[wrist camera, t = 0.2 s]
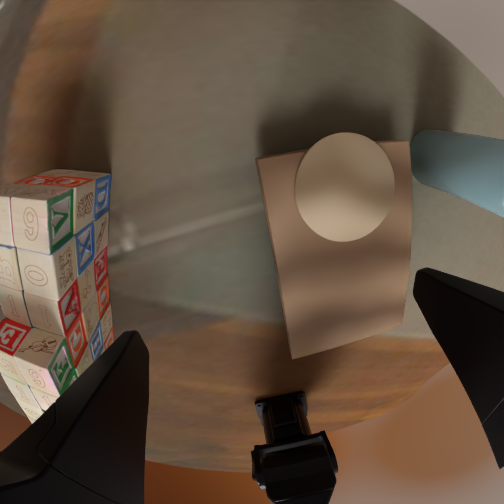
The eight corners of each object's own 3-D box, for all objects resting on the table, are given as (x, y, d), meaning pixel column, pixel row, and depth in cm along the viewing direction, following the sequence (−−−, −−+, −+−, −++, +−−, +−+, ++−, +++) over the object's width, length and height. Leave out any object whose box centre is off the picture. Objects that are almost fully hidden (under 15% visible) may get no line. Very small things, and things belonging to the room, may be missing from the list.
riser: (388, 309, 27) (403, 326, 24) (286, 339, 27) (293, 361, 24) (387, 127, 20) (409, 128, 17) (250, 144, 19) (255, 145, 16)
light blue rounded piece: (448, 182, 22) (542, 222, 11) (410, 188, 22) (514, 236, 11) (445, 129, 20) (547, 148, 8) (406, 129, 20) (520, 146, 8)
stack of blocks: (53, 167, 18) (-52, 206, 7) (113, 172, 19) (14, 217, 8) (72, 353, 26) (36, 433, 15) (118, 365, 27) (92, 454, 16)
